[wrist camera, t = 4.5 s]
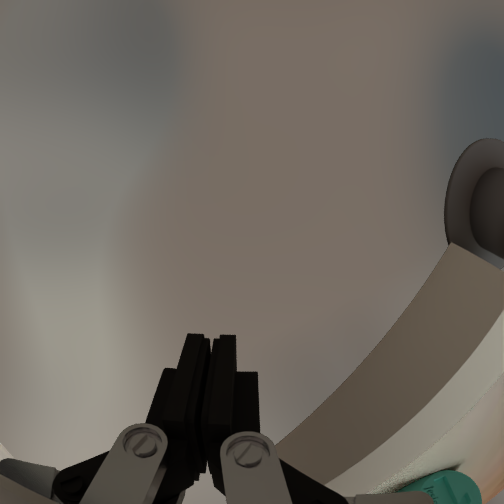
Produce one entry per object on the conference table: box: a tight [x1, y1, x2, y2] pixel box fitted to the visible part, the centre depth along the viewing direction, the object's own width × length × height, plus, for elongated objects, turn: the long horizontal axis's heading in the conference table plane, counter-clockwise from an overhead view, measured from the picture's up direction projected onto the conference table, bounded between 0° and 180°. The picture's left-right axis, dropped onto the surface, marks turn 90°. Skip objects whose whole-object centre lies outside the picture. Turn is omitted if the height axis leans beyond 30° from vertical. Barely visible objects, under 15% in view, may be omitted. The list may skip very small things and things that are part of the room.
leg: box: [275, 242, 504, 497], centre depth 10 cm, size 16×4×4 cm, turn 149°
